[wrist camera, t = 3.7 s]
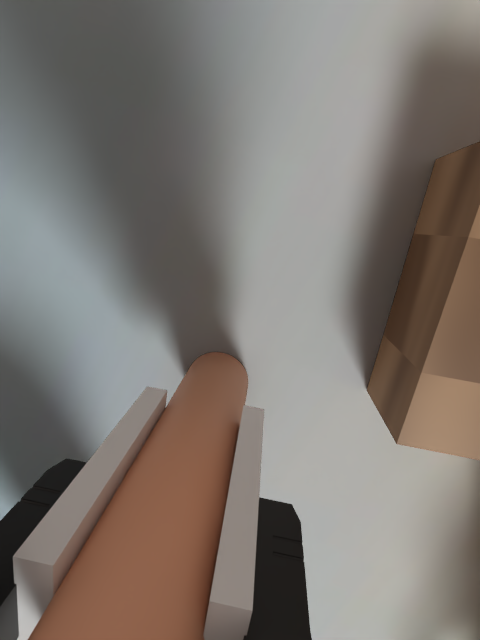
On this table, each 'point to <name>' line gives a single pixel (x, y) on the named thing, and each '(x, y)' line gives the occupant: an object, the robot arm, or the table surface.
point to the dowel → (159, 522)
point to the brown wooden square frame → (437, 320)
